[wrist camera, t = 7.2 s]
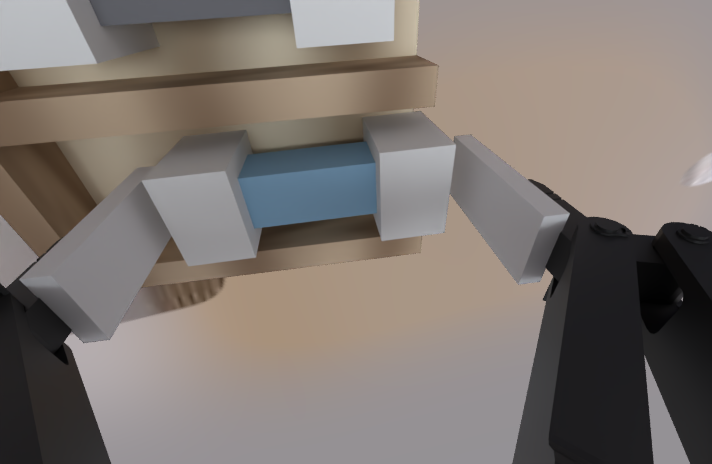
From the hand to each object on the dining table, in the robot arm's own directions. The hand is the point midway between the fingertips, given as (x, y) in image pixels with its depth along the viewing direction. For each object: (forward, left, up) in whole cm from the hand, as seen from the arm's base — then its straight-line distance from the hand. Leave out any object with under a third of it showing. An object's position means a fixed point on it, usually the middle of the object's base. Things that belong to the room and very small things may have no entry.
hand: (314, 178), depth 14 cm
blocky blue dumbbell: (0, 0, -2) cm, 2 cm away
